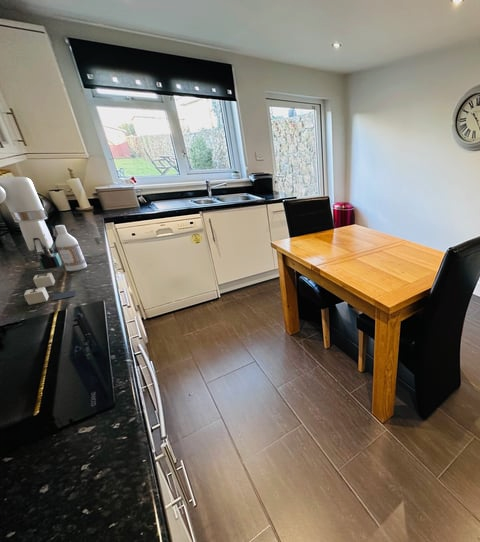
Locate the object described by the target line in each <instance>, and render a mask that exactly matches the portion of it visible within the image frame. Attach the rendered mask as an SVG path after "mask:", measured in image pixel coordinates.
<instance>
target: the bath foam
mask: <svg viewBox="0 0 480 542" xmlns="http://www.w3.org/2000/svg"><path fill="white" fill-rule="evenodd" d="M54 227H55V231H56V233H57V236H56V238H55V243H54V244H55V247H56V250H57V253H58V255H59V257H60V259H61V262H62V264H63V266H64V268H65V270H66V271H67V272H77V271H80V270H81V271H82V270H84V269H86V268H88V265H87V261H86V259H85V257H84V254H83V251H82V250H81V247H80V244H79V242H78V240H77V239H76V238H75V237H74V236H72V235H71V234H69V233H68V231H67V228H66V226H65V224H58V225H55V226H54Z"/></svg>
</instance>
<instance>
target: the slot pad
mask: <svg viewBox="0 0 480 542" xmlns="http://www.w3.org/2000/svg"><path fill="white" fill-rule="evenodd" d="M76 292H77V290H75V289H73V290H69V291H64V292H58V293H54V294H53V295H52V298H51V302H54V301H58V300H59V301H60V300H63V299H64V300H65V299H68V298H73V297H75V296H76Z"/></svg>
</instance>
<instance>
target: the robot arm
mask: <svg viewBox="0 0 480 542" xmlns="http://www.w3.org/2000/svg"><path fill="white" fill-rule="evenodd" d="M2 203H5V205H6V206H7V209H8V211H9V212H10V214H11V217H12V219H13V221H14V223H18V225H19V228H20V231H21V234H22V237H23V239H24V241H25V244H26V247H27V248H28V250H29V252H34V251H35V250H36V253H37V255H38V258H40V260H41V263H42V265H43V267H44V269H43V270H49V269H56V268H58V267H57V264H56V262H55V260H54V257H52V256H51V254H53V253H56V252H55V249H54V247H53V243H54V240H53V237H52V235H51V233H50V230H49V228H48V226H47V224H46V221H45V220H48V216H47V213H46V211H45V209H44V206H43V203H42V202H41V199H40V197H39V195H38V193H37V189H36V188H35V186H34V183H33V181H32V179H30V177H29V178H28V177H26V176H4V177H0V204H2Z"/></svg>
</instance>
